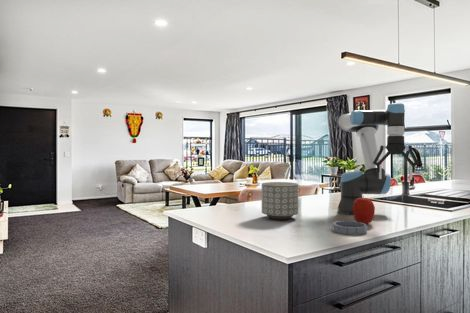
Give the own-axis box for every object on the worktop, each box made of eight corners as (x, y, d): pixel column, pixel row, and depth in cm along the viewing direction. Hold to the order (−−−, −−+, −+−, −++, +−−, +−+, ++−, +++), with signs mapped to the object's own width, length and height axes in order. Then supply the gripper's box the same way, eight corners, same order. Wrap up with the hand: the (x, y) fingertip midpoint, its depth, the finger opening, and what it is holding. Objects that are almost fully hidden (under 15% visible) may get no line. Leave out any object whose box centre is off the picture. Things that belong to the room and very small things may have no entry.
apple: (364, 227, 155) (364, 197, 155) (347, 223, 164) (347, 194, 164) (379, 224, 160) (379, 195, 160) (362, 221, 169) (362, 193, 169)
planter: (302, 216, 181) (302, 182, 181) (292, 223, 164) (292, 186, 164) (268, 213, 189) (268, 181, 189) (256, 220, 172) (256, 184, 172)
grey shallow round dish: (327, 231, 148) (327, 224, 148) (341, 225, 158) (341, 219, 158) (359, 236, 138) (359, 229, 138) (371, 230, 149) (371, 223, 149)
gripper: (368, 135, 164) (368, 179, 164) (426, 134, 157) (425, 180, 158) (367, 136, 171) (367, 177, 172) (422, 135, 164) (421, 179, 165)
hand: (395, 179), depth 165 cm, fingers open, 13 cm apart
